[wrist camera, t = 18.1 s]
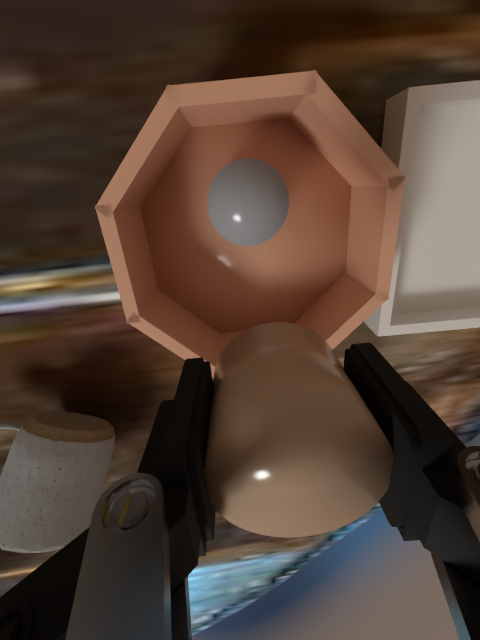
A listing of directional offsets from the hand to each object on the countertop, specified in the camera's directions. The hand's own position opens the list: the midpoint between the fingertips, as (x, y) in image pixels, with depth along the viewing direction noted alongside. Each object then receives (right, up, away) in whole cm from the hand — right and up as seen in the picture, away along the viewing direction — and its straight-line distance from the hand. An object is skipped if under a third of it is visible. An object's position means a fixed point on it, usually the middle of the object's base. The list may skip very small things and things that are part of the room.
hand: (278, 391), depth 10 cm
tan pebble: (0, 0, +1) cm, 1 cm away
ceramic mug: (-18, -7, +18) cm, 27 cm away
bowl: (-1, +8, +11) cm, 14 cm away
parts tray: (+16, +10, +11) cm, 21 cm away
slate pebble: (-1, +10, +10) cm, 14 cm away
